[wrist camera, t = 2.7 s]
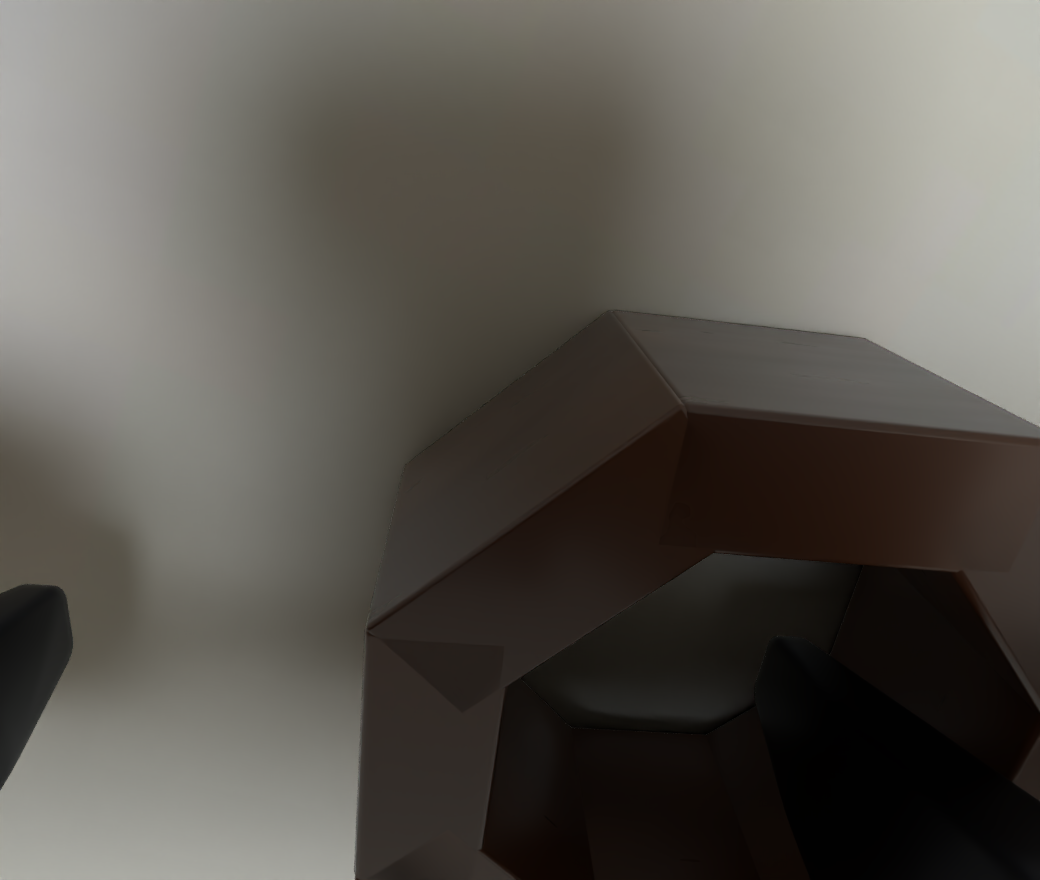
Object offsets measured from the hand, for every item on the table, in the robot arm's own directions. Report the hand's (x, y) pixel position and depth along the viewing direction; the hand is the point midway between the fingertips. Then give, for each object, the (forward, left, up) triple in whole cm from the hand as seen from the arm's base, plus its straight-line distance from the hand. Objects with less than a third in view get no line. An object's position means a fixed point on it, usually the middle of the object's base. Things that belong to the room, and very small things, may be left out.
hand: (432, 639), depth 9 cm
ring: (+2, -3, -2) cm, 4 cm away
